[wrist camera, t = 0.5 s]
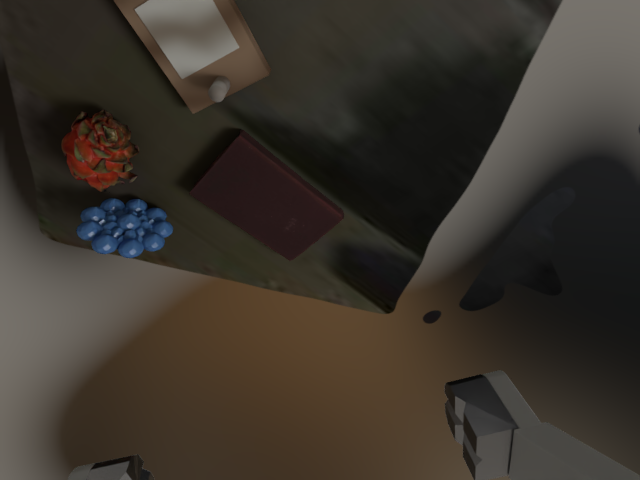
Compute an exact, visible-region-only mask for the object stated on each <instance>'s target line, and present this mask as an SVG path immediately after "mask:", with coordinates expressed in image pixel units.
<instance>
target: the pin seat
mask: <svg viewBox="0 0 640 480" xmlns="http://www.w3.org/2000/svg"><path fill="white" fill-rule="evenodd" d="M114 2H115V3H116V5H117V6H118V7H119V9H120V10H121V12H122V13H123V15H124V16H125V17H126V19H127V20H128V22H129V23H130V25H131V26H132V27H133V29H134V30H135V32H136V33H137V35H138V36H139V37H140V39H141V40H142V42H143V43H144V45H145V46H146V47H147V49H148V50H149V52H150V53H151V55H152V56H153V57H154V59H155V60H156V62H157V63H158V65H159V66H160V67H161V69H162V70H163V72H164V73H165V75H166V76H167V77H168V79H169V80H170V82H171V83H172V84H173V86H174V87H175V89H176V90H177V92H178V93H179V94H180V96H181V97H182V99H183V100H184V102H185V103H186V104H187V106H188V107H189V109H190V110H191V112H192V113H193V114H194V113H196V112H198V111H200V110H202V109H204V108H206V107H208V106H209V105H211V104H213V103H215V102H220V101H222V100H223V99H224V98H225V97H227V96H229V95H231V94H233V93H235V92H237V91H239V90H241V89H243V88H245V87H246V86H248V85H250V84H252V83H254V82H256V81H258V80H260V79H262V78H264V77H266V76H268V75H269V74H270V71H271V68H270V67H269V65H268V63H267V61H266V59H265V57H264V55H263V53H262V52H261V50H260V48H259V46H258V44H257V42H256V40H255V39H254V37H253V35H252V33H251V31H250V29H249V27H248V25H247V24H246V22H245V20H244V18H243V16H242V14H241V12H240V10H239V9H238V7H237V5H236V3H235V1H234V0H114Z"/></svg>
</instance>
